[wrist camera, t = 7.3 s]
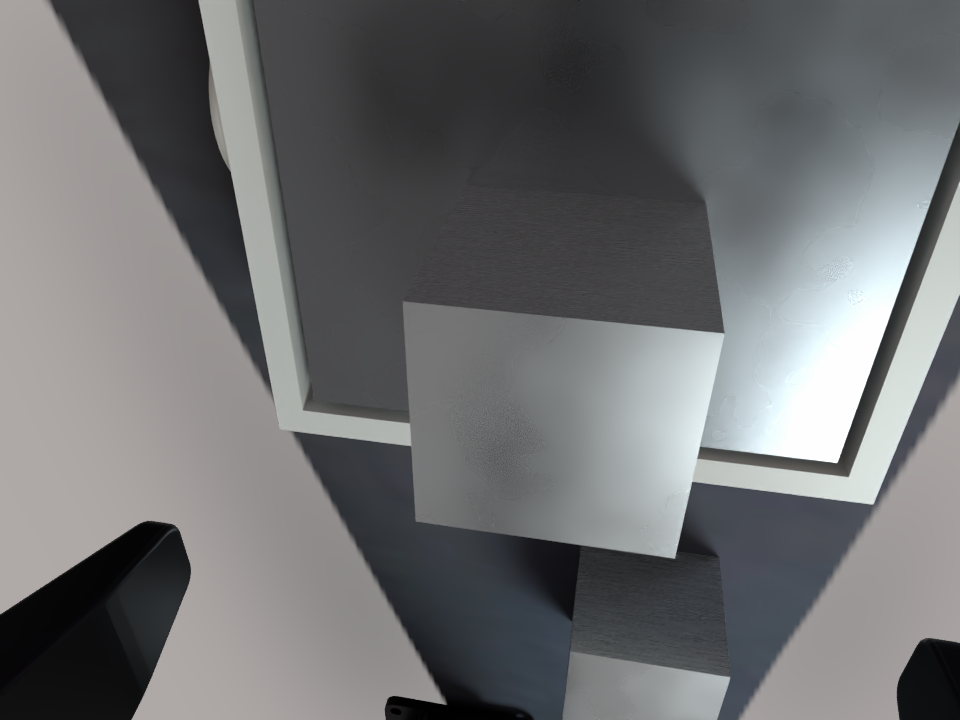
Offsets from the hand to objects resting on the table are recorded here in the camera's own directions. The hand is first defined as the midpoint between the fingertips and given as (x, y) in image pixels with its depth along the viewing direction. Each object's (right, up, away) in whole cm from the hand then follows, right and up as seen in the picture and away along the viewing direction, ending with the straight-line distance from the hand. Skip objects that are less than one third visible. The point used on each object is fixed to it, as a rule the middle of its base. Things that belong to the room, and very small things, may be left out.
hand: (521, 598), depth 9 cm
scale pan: (+2, +7, +5) cm, 9 cm away
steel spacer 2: (+5, -5, +17) cm, 19 cm away
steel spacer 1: (+1, +4, +6) cm, 8 cm away
